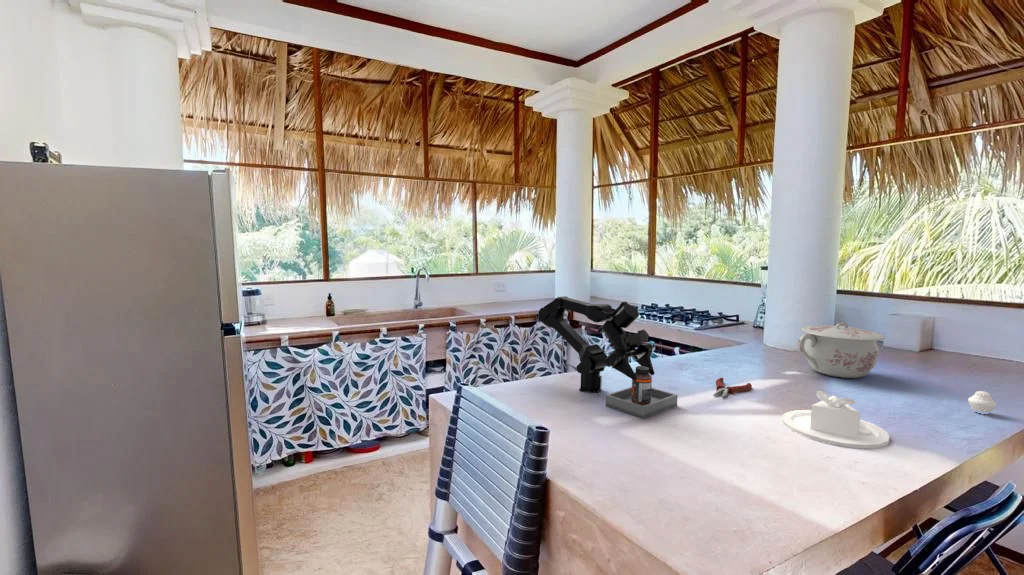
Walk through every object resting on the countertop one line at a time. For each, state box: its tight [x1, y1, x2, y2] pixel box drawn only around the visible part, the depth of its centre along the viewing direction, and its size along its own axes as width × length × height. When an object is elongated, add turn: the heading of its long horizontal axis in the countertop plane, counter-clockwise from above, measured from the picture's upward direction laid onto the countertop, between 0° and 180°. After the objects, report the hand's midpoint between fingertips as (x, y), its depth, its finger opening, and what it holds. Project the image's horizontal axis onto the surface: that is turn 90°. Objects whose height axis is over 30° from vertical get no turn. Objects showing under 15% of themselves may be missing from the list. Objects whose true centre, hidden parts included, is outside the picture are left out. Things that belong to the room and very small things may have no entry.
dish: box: [781, 390, 891, 450], centre depth 133 cm, size 25×25×11 cm
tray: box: [605, 386, 678, 419], centre depth 150 cm, size 14×18×4 cm
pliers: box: [712, 377, 753, 398], centre depth 166 cm, size 12×20×3 cm, turn 139°
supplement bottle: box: [631, 365, 653, 405], centre depth 150 cm, size 6×6×11 cm
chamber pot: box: [797, 321, 886, 379], centre depth 189 cm, size 28×28×21 cm
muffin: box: [967, 390, 997, 413], centre depth 147 cm, size 6×6×7 cm
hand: (644, 377), depth 149 cm, fingers open, 9 cm apart
